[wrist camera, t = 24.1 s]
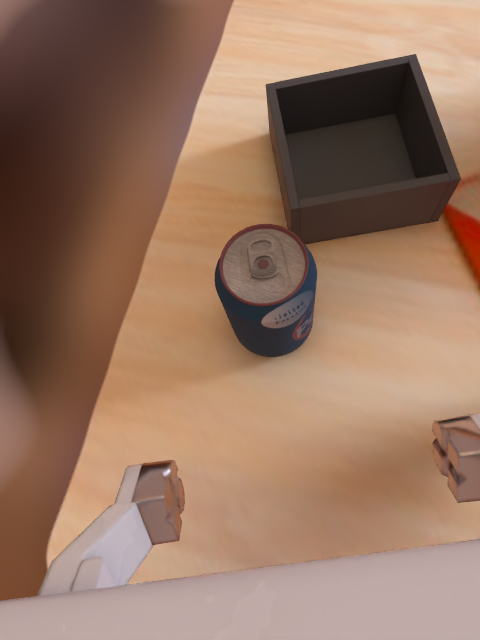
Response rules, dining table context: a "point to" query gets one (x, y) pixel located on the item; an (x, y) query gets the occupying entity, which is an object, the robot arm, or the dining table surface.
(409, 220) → the tub
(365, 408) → the dining table surface
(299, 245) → the soda can
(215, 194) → the dining table surface
